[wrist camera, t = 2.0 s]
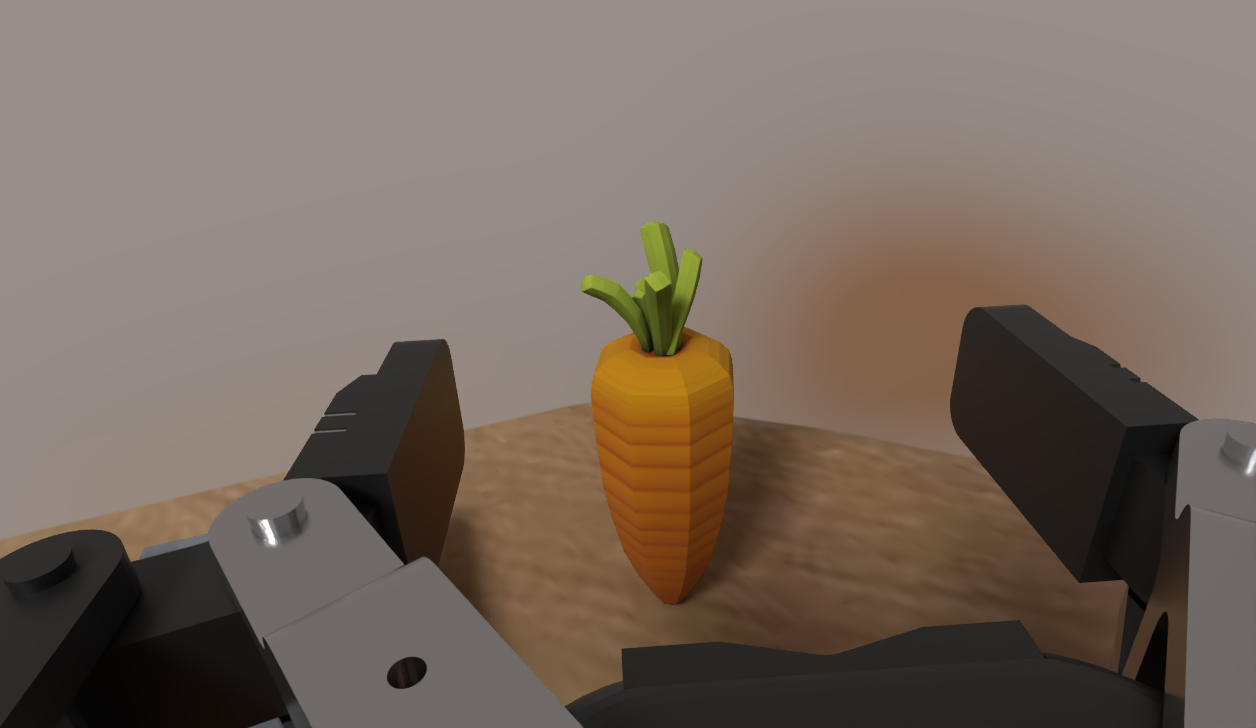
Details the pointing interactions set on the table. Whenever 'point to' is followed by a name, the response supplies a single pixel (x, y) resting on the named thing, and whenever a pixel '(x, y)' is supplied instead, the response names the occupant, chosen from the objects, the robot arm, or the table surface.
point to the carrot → (663, 421)
